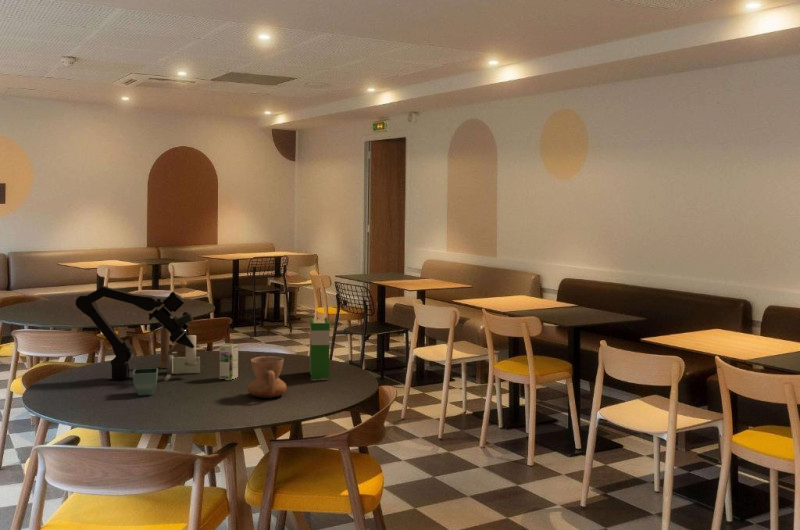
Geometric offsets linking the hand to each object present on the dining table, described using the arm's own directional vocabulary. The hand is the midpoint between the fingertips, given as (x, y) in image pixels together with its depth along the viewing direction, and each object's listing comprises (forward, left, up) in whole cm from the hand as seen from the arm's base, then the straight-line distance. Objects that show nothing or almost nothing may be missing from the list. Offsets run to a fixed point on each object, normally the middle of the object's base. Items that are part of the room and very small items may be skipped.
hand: (194, 346), depth 310 cm
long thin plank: (-2, +12, -13) cm, 18 cm away
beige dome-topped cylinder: (-1, +1, -8) cm, 8 cm away
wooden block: (+13, +21, -13) cm, 28 cm away
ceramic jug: (-13, -44, -13) cm, 48 cm away
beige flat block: (+6, +8, -13) cm, 16 cm away
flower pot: (-30, -1, -13) cm, 33 cm away
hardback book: (+26, -45, -13) cm, 53 cm away
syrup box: (+5, -14, -13) cm, 20 cm away
